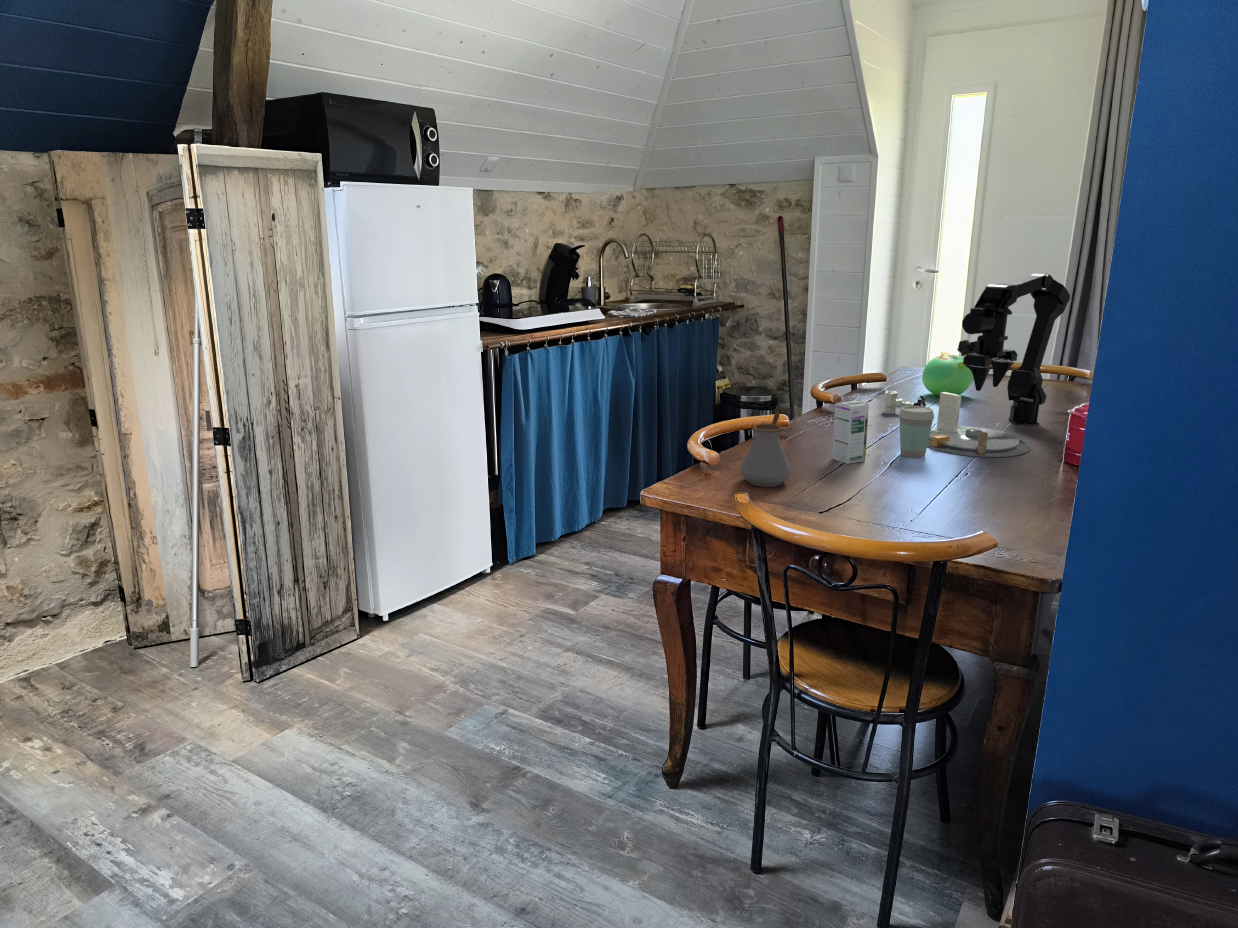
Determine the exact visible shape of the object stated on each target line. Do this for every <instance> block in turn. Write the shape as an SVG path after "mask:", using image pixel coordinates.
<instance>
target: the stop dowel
mask: <svg viewBox="0 0 1238 928" xmlns="http://www.w3.org/2000/svg"><path fill="white" fill-rule="evenodd" d="M987 438H988V433H987V432H979V440H978V448H977V455H981V456H984V455H985V454H986V446H987Z"/></svg>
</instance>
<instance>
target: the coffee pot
mask: <svg viewBox="0 0 1238 928" xmlns="http://www.w3.org/2000/svg"><path fill="white" fill-rule="evenodd" d="M782 407H783V408H784V410H782ZM775 409H776V410H775V413H774V415H773V419H772V422H771V423H760V424H755V425H753V427H752V429H753V430H754V432H755V433H754V434H755V436H754V438H753V440H752V443H751V445H750V447H749V449H748V451H747V453H746V455H745V458H744V459H743V461H742V464H741V465H740V469H739V470H740V474H741V475H742V476H743V477H742V478H744V479H745V480H747V482H748V483H749V484H751V485H754V486H757V487H765V488H768V487H772V488H773V487H777V486H781V485H782V484H783V482H785V481H786V480H787V479H789V478H790V475H791V474H792V468H791V465H790V462H789V460H788V458H787V456H786V452H785V450H784V447H783V444H782V442H781V440H780V435H781V433H782V432H783V431H784V428H783V427H782V426H781V425H778V424H777V423H778V421H779V419H780V414H781V413H784V412H785V411H786V407H785V406H783V405H782V404H779V405H777V406H776V408H775Z"/></svg>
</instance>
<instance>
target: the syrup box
mask: <svg viewBox="0 0 1238 928" xmlns="http://www.w3.org/2000/svg"><path fill="white" fill-rule="evenodd" d="M834 405H835V407H834V408H835V409H834V427H833V443H832V444H833V446H832V447H833V448H832V459H833V460H834V461H837V462H839V463H840V462H841V463H843V464H846V465H849V464H850V465H851V464H854V463H855V464H856V463H860V462H865V461H866V454H867V438H868V437H867V436H868V425H869V424H868V422H869V411H870V410H869V409H870V408H869V407H870V404H868V403H866V402H863V401H858V400H851V401H843V402H836V403H835V404H834Z"/></svg>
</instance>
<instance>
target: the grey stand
mask: <svg viewBox="0 0 1238 928" xmlns="http://www.w3.org/2000/svg"><path fill="white" fill-rule="evenodd" d="M961 403H962V394H960V395H957V394H952V393H947V392H941V393H940V396H939V403H938V412H937V423H936V428H934V429H931V431H930V435H929V439H930V440H931V445H933V446H936V447H939V446H945V447H949V448H954V449H959V450H966V451H977V448H978V440H979V432H987V433H988V438H987V446H986V452H1000V451H1008V450H1013V449H1015V448H1017V447H1018V445H1019V439H1020V438H1019V437H1017V436H1016V435H1015V434H1012V433H1009V432H1005V431H1002V430H997V429H993V428H987V427H977V426H963V425H962V426H961V425H959V422H960V421H959V420H960V413H961V412H960V410H961Z"/></svg>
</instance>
